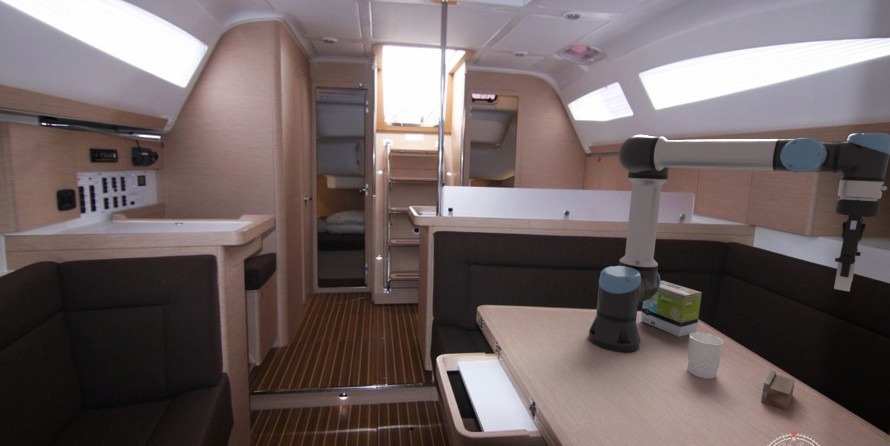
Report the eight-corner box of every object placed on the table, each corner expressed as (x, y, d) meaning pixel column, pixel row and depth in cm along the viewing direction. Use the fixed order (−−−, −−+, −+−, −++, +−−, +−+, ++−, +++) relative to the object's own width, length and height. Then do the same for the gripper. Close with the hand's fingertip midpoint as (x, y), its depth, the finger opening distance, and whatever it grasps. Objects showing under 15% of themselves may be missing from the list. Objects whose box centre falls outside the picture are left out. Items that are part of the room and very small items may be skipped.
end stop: (761, 401, 101) (764, 382, 100) (768, 387, 108) (771, 369, 107) (786, 410, 98) (789, 391, 97) (792, 395, 105) (795, 377, 104)
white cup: (724, 382, 110) (729, 346, 109) (691, 378, 111) (695, 342, 110) (711, 368, 118) (716, 334, 116) (680, 364, 119) (685, 331, 118)
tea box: (639, 322, 152) (643, 282, 149) (657, 318, 156) (661, 279, 154) (679, 337, 138) (684, 294, 136) (697, 333, 143) (703, 291, 141)
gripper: (881, 202, 89) (863, 298, 92) (880, 198, 106) (865, 280, 109) (833, 199, 94) (818, 290, 97) (840, 196, 112) (827, 273, 115)
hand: (843, 285), depth 103 cm, fingers open, 13 cm apart
